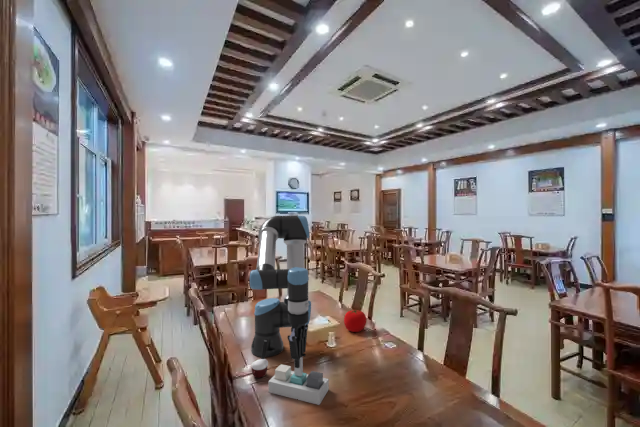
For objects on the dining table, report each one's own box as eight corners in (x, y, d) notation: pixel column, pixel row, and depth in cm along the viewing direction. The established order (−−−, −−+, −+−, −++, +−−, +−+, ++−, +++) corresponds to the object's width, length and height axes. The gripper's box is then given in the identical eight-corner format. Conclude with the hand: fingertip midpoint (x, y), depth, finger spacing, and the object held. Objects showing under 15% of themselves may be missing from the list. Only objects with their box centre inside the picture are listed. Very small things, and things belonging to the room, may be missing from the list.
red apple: (341, 333, 162) (340, 312, 162) (348, 324, 175) (348, 305, 174) (362, 336, 158) (362, 315, 158) (368, 327, 170) (368, 307, 170)
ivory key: (275, 380, 112) (274, 369, 112) (280, 374, 117) (280, 364, 117) (285, 383, 111) (285, 372, 111) (291, 376, 115) (290, 366, 115)
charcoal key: (306, 388, 108) (306, 377, 108) (311, 381, 112) (311, 370, 112) (318, 390, 106) (318, 379, 106) (322, 383, 110) (322, 373, 110)
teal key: (290, 388, 110) (290, 377, 110) (296, 381, 114) (295, 371, 114) (301, 390, 109) (301, 379, 108) (306, 383, 113) (306, 373, 113)
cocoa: (255, 383, 116) (255, 352, 116) (246, 377, 121) (245, 347, 120) (274, 372, 124) (274, 343, 123) (264, 367, 128) (264, 339, 128)
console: (268, 392, 111) (268, 381, 111) (281, 378, 119) (280, 368, 119) (319, 405, 103) (319, 393, 103) (328, 389, 112) (328, 378, 112)
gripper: (299, 318, 103) (300, 386, 104) (314, 306, 115) (314, 367, 116) (280, 315, 106) (281, 382, 107) (296, 304, 118) (297, 364, 119)
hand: (298, 374), depth 111 cm, fingers closed
